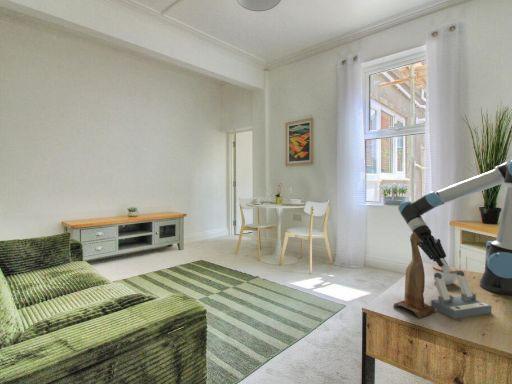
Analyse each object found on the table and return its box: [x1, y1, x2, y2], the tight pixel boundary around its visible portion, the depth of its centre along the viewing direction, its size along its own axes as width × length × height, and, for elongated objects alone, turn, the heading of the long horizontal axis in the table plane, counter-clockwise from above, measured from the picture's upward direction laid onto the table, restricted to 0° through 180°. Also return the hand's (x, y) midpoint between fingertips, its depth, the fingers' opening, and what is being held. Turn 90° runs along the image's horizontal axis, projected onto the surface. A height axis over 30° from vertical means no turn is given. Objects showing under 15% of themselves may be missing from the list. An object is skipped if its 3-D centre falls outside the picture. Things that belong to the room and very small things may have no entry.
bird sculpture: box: [393, 232, 436, 320], centre depth 112 cm, size 11×12×32 cm
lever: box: [433, 273, 451, 303], centre depth 114 cm, size 3×4×12 cm
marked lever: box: [456, 269, 474, 299], centre depth 117 cm, size 3×4×12 cm
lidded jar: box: [432, 264, 459, 286], centre depth 142 cm, size 11×11×9 cm
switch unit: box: [430, 291, 492, 320], centre depth 112 cm, size 10×19×6 cm, turn 105°
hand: (448, 272), depth 123 cm, fingers closed
